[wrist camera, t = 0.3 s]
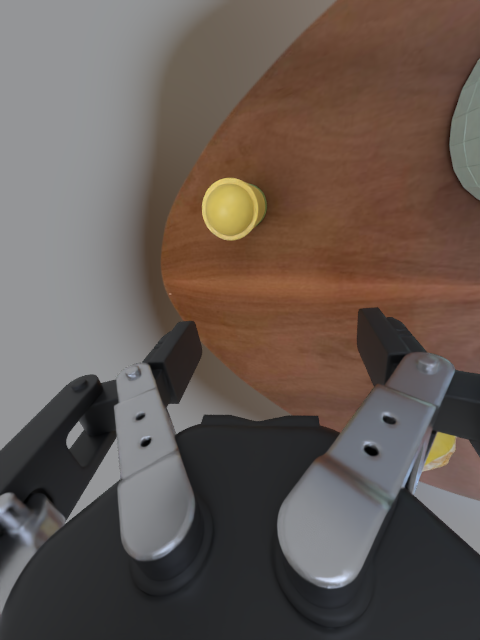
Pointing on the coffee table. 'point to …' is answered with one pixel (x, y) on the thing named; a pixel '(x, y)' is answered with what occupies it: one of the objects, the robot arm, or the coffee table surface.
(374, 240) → the coffee table surface
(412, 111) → the coffee table surface
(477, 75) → the basin
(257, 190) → the corn cob
